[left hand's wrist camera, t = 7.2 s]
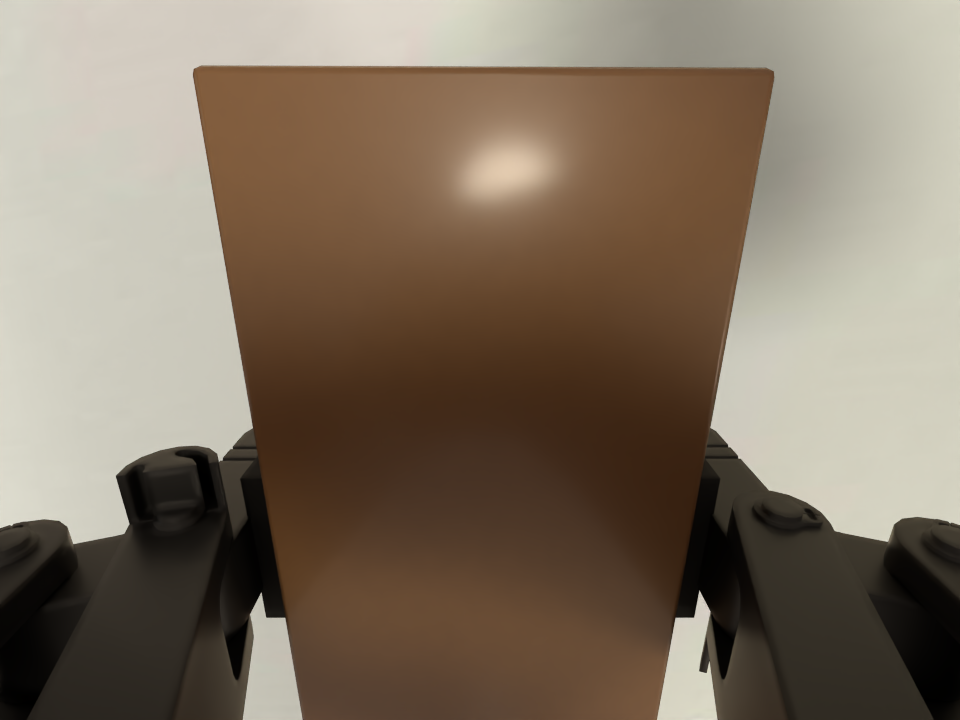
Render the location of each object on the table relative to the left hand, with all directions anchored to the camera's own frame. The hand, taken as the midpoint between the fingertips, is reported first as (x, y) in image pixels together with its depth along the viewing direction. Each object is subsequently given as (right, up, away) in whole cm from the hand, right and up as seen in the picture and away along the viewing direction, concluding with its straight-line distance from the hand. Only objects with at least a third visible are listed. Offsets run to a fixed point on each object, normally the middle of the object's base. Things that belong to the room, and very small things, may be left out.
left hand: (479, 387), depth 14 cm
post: (0, -21, +8) cm, 22 cm away
